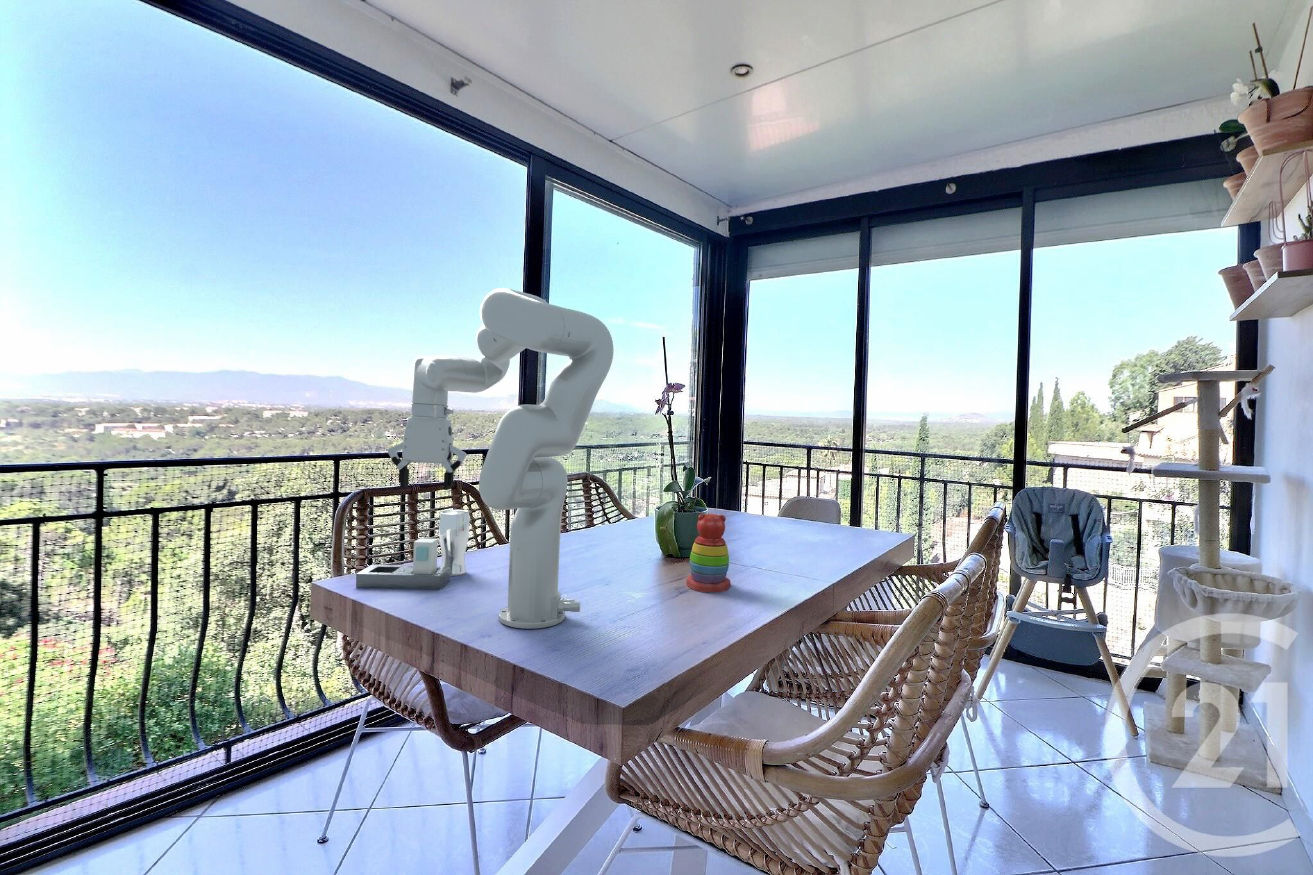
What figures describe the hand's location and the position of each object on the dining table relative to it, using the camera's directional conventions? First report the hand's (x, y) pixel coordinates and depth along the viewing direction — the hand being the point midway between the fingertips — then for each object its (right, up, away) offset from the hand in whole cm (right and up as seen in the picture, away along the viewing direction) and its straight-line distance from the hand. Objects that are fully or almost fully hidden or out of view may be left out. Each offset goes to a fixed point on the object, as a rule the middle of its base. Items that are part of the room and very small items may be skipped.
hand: (425, 487), depth 135 cm
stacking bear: (+65, -25, +8) cm, 70 cm away
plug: (0, -22, +1) cm, 22 cm away
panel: (-5, -22, 0) cm, 22 cm away
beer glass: (+2, -22, +11) cm, 25 cm away
